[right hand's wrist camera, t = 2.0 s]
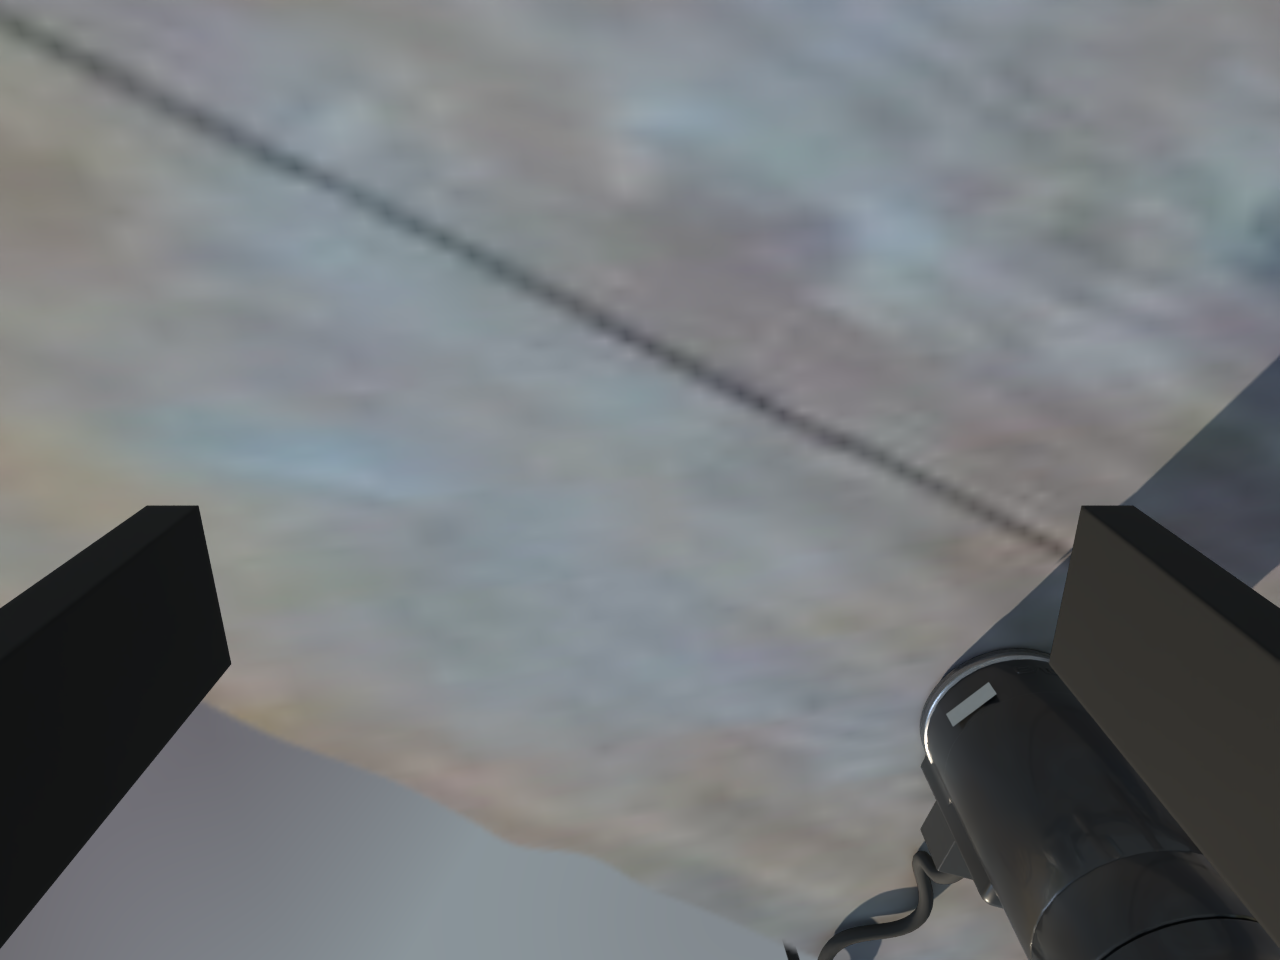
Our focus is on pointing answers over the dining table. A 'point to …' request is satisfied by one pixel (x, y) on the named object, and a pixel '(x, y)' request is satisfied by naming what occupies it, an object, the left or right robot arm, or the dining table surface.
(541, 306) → the dining table surface
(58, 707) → the right robot arm
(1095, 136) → the dining table surface
